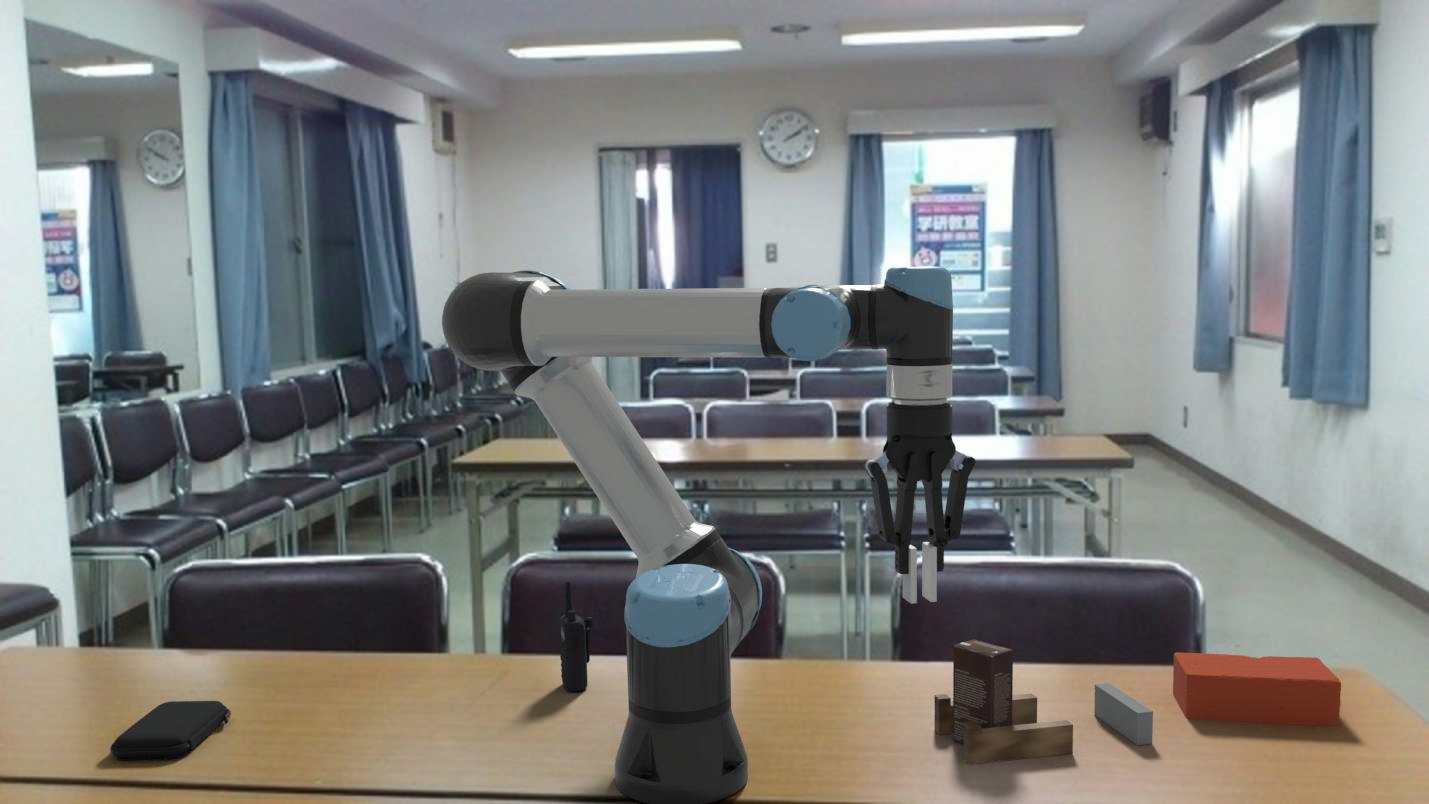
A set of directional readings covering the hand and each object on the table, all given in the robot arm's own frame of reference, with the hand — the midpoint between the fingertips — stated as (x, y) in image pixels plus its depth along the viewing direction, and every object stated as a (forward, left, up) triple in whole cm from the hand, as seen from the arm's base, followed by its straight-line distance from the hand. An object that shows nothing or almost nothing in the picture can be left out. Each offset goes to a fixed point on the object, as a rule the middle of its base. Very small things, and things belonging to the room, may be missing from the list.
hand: (919, 599), depth 139 cm
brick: (+46, +2, -19) cm, 50 cm away
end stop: (+27, 0, -18) cm, 32 cm away
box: (+8, 0, -19) cm, 20 cm away
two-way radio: (-38, +32, -19) cm, 53 cm away
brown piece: (+11, 0, -18) cm, 21 cm away
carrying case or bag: (-89, +26, -19) cm, 95 cm away
